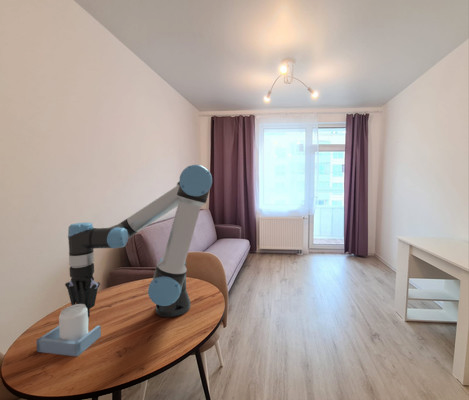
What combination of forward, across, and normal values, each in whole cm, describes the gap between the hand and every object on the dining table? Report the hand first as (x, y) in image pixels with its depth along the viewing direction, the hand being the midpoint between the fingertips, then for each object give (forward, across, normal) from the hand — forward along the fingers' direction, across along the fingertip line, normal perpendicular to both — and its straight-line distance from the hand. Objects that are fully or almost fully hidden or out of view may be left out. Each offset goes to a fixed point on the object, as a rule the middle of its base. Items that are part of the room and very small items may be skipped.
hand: (84, 325), depth 82 cm
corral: (+3, 0, +6) cm, 7 cm away
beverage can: (+3, -1, +5) cm, 6 cm away
